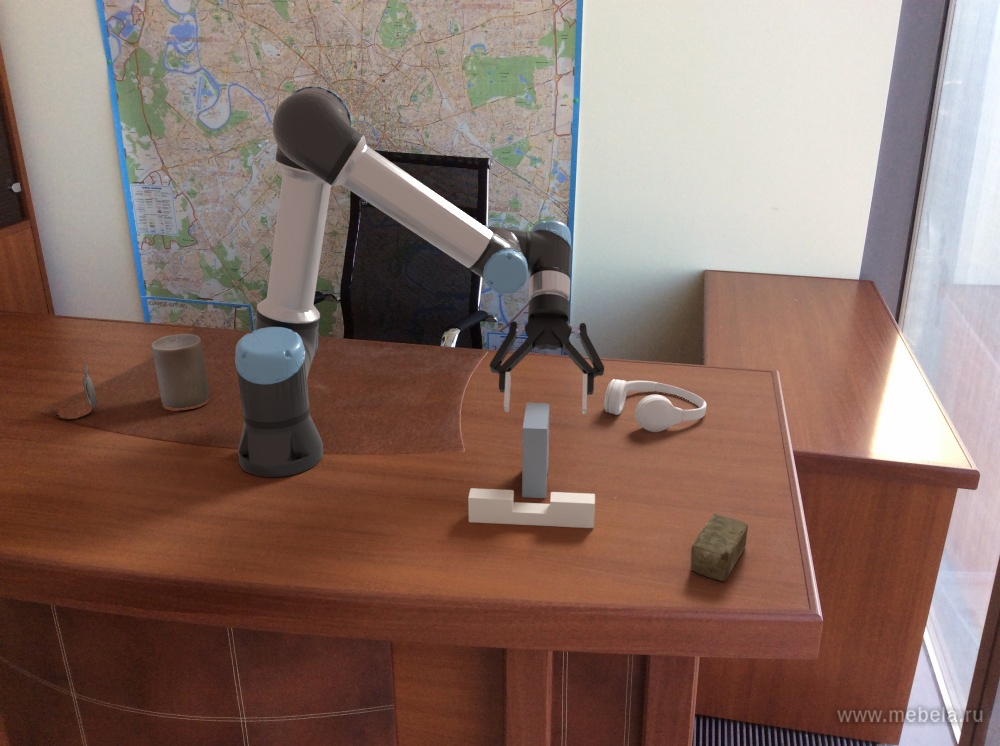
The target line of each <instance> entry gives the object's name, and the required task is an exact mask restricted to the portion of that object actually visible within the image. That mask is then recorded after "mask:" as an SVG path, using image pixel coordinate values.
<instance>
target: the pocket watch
mask: <svg viewBox="0 0 1000 746" xmlns="http://www.w3.org/2000/svg"><path fill="white" fill-rule="evenodd" d="M88 369H89V368H88V365H87V364H84V367H83V374H84V376H83V380H82V383H83V390H84V393H85V396H86V400H87V404H89V405H90V406H91V407H92V409H94V408H96V407H97V404H98V402H97V397H96V391H95V387H94V384H93V381H92V379H91V376H90V375H88Z"/></svg>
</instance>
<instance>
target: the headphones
mask: <svg viewBox="0 0 1000 746" xmlns="http://www.w3.org/2000/svg"><path fill="white" fill-rule="evenodd" d="M648 391H650V392H649V393H652V392H651V391H659V392H666V393H671V394H675V395H677V396H680V397H683V398H685V399H684V400H686V399H687V400H686V401H688V400H689V402H690V403H692V404H694V405H696V406H697V407H698V408H693V409H682V408H680V407H676V406H674V405H673V403H672V402H671V401H670V400H669V398H667V397H666V396H664V395H662V394H661V395H660V394H650V395H649V394H648V395H646V396H645V397H644V398H642V399H641V400H639V402H638V404H637V405H636V406H635V410H634V411H635V412H634V416H635V420H636V422H637V424H639V425H640V426H641V427H642V428H643V429H644V430H646V431H648V432H652V433H659V432H663V431H665V430H667V429H669V428H670V427H673V426H676V425H678V424H679V423H681V422H692V421H697V420H700V419H702V418H703V417H704V416H705V415H706V412H707V402H706V401H705V399H703V398H702V397H700V396H699V395H697V394H695V393H693V392H691V391H688V390H686V389H683V388H681V387H677V386H674V385H670V384H666V383H661V382H656V381H650V380H629V381H626V380H625V379H622V380H621V379H615V378H613V379H612V380H611V381H610V382H609V383H608V385H607V387H606V391H605V394H604V401H603V406H604V410H605V412H606V413H609V414H611V415H615V416H619V415H620V414H621V413H622V411H623V409H624V406H625V402H626V397H627V393H629V392H630V393H631V392H648ZM659 392H658V393H659ZM677 396H676V397H677ZM680 397H679V398H680ZM683 398H682V399H683Z"/></svg>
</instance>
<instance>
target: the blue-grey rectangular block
mask: <svg viewBox="0 0 1000 746" xmlns="http://www.w3.org/2000/svg"><path fill="white" fill-rule="evenodd" d="M550 404H551V403H548V402H547V403H546V402H545V403H544V402H526V404H525V409H524V410H525V411H524V418H523V423H522V452H521V453H522V458H521V459H522V461H521V462H522V464H521V471H522V475H521V476H522V477H521V479H522V480H521V482H522V483H521V497H522V498H532V499H533V498H535V499H539V498H540V499H547V488H548V487H547V483H548V479H547V477H548V476H549V475H548V474H549V455H550V454H549V453H550V446H549V445H550V443H549V441H550V408H551V407H550Z"/></svg>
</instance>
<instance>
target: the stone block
mask: <svg viewBox="0 0 1000 746" xmlns="http://www.w3.org/2000/svg"><path fill="white" fill-rule="evenodd" d="M748 529H749V525H748V523H746V522H745V521H742V520H739V519H736V518H734V517H733V518H732V517H730V516H725V515H721V514H717V512H715V513H713V514H712V516H711V517H710V519H708V520H707V522H706V523H705V525H704V526H703V528H702V529H701V531H700V532H699V534H697V536H696V538H695V539H694V542H693V543H692V545H691V549H690V569H691V571H693V572H695V573H697V574H698V575H702V576H705V577H708V578H709V579H710V580H711V579H712V580H715V581H722V582H726V580H727V579H728V577H729V576H730V574H731V572H732V570H733V569H734V567H735V565H736V563H737V561H738V559H739V558H740V557H741V556H742V554H743V553H744V551H745V547H746V544H747V536H748V531H749V530H748Z"/></svg>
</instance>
